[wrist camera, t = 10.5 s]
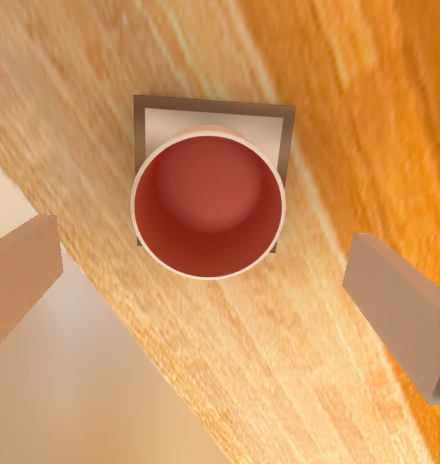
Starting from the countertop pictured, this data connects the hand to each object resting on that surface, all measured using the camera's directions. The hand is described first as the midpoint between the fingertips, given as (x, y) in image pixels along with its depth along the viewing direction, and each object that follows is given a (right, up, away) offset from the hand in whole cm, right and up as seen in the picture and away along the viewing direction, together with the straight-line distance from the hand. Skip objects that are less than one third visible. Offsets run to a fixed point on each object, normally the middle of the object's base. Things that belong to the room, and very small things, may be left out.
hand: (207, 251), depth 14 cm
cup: (0, +6, +16) cm, 17 cm away
